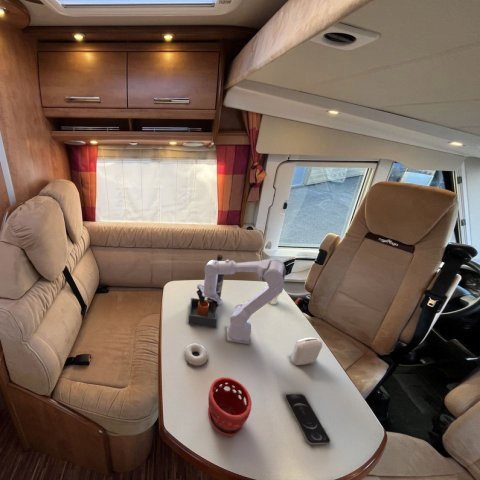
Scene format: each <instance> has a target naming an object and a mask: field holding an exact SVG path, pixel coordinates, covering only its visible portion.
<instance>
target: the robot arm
mask: <svg viewBox="0 0 480 480" xmlns="http://www.w3.org/2000/svg"><path fill="white" fill-rule="evenodd" d="M203 272H204V281H203V284H201V283H199V284H197V287H196V288H197V290H196V295H197V296H198V299H199V300H200V304H202V303H204V301H205V300H206V298H207V297H208V298H210V299H213V300H214V301H212V302H210V304H211V313H214V312H215V310H216V308H218V307H219V306H220V305H221V304H222V303H223V299H222V298H221V297H219V296H218V295H217V293H216V286H217V279H218V274H224V275H234V274H236V273H237V272H243V273H244V272H246V273H256V274H257V275H258V276H259V277H260V278H261V279H263V278H264V280H265V282H266V283H267V285H266V286H265V287H264V288H262V289H261V290H260V291H259V292H258V293H257V294H255V295H254V296H253V297H251V298H250V299H248V300H247V301H246V302H245V301H244V302H243V303H239V304H236V306H235V307H234V310H233V313H232V315H231V316H230V318H229V325H228V326H227V327H226V338H227V341H228V342H233V343H241V344H247V345H248V344H249V343H250V337H251V333H252V323H251V321H249V319H250V318H251V317H252V316H253V314H255V313H256V312H258V310H260V309H262V308H263V307H264V306H266V305H267V304H269V303H268V302H270V301H271V300H272V299H274V298H275V297H276V296H278V295H279V296H280V295H281V294H282V293H283V290H284V285H285V279H286V272H287V270H286V267H285V264H284V262H283V261H282V260H280V259H277V258H273V259H268V258H266V259H261V260H255V261H246V262H245V261H244V262H235V260H230V259H225V260H222V261H217V260H215V259H210V260H209V261H208V262H207V263H206V265H205V266H204V268H203Z"/></svg>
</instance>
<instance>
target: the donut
mask: <svg viewBox="0 0 480 480" xmlns="http://www.w3.org/2000/svg"><path fill="white" fill-rule="evenodd" d="M183 353H184V354H183V356H184V358H185V360H186V361H187V362H188V363H189V364H190V365H193V366H202V365H203V364H205V363H206V362H207V361H208V351H207V349H206V348H205V347H204V346H203V345H202V344H200V343H190V344H188V345H187V346H186V347H185V348H184V351H183ZM193 353H198V354H199V355H197V356H196V355H194V354H193Z"/></svg>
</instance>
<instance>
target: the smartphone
mask: <svg viewBox="0 0 480 480" xmlns="http://www.w3.org/2000/svg"><path fill="white" fill-rule="evenodd" d="M284 398H285V401H286V403H287V406H288V407H289V409H290V411H291V413H292V414H293V417H294V419H295V422H296V423H297V425H298V427H299V430H300V431H301V433H302V435H303V437H304V439H305V441H306V442H307V443H308V444H309V445H314V446H315V445H330V443H331V439H330V437H329V435H328V434H327V431H326V430H325V428H324V426H323V425H322V423H321V422H320V420H319V418H318V417H317V415H316V413H315V411H314V409H313V408H312V406H311V404H310V402H309V401H308V399H307V398H306V395H304V394H302V393H292V394H291V393H289V394H288V393H287V394H285V396H284Z"/></svg>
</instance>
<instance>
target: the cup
mask: <svg viewBox="0 0 480 480" xmlns="http://www.w3.org/2000/svg"><path fill="white" fill-rule="evenodd" d="M279 296H280V294H279V295H278V296H276V297H275V298H274V299H272V300H271V301H270V302H268V303H267V304H270V305H276V304H277V302H278V299H279Z"/></svg>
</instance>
